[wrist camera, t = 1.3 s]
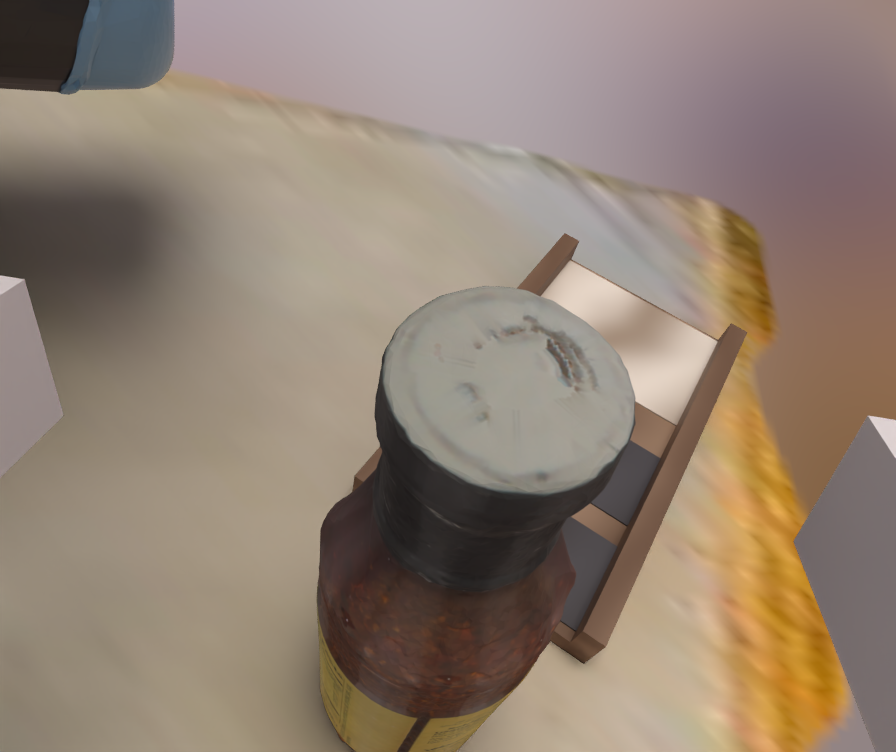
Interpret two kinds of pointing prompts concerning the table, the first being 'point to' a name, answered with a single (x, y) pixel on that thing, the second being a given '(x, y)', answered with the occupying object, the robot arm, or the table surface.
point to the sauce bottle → (464, 515)
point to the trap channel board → (651, 445)
